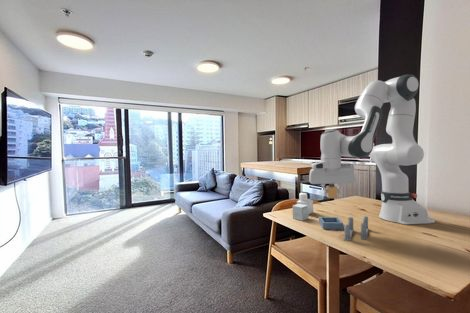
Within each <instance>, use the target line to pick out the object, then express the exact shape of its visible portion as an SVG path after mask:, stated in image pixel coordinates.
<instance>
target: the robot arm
mask: <svg viewBox="0 0 470 313" xmlns="http://www.w3.org/2000/svg"><path fill="white" fill-rule="evenodd" d="M419 87H420V82H419V79H418V77H416V76H415V75H414V74H403V75H401V76H398V77H397V76H396V77H393V78H390V79H387V80H386V81H382V80H378V79H377V80H372V81H370V82H369V83H368V84H367V85H366V86H365V88H364V89H363V90H362V92H361V94H360V95H359V97H358V98H357V100H356V102H355V105H354V111H355V113H356V115H357V116H358V117H360V118H362V119H364V122H363V125H362V128H361V129H360V130H361V131H360V132H359V133H357V134H355V135H351V136H350V135H349V136H347V135H345V134H343V133H341V132H340V131H339V130H338V129H331V130H326V131H324V132H322V133H321V135H320V142H319V143H320V152H321V154H320V160H319V161H317V162H313V163H311V165H310V167H311V169H310V170H309V176H308V182H309V183H310V184H311V185H320V186H321V188H322V189H323V193H324V194H327V193H328V189H326V185H330V184H333V185H335V184H337V191H338V194H340V193H341V189H342V187H343V184H354V183H355V182H356V178H355V177H356V176H355V166H354V165H353V164H351V163H342V158H341V157H347V158H348V157H350V158H351V157H352V158H353V157H354V158H357V159H358V158H360V159H363V158H367V157H368V156H369V157H370V160H371V161H372V162H374V163H375V165H376V166H377V168H378V170H379V172H380V176H381V192H380V198H381V208H380V212H379V214H378V217H379V218H380V219H382V220H385V221H387V222H392V223H398V224H401V225H424V224H436V222H435V219H433V218H432V217H430V216H429V213H428V211H427V208H426V207H425V206H423V205H421V204H420V203H419V202H417V201H415V200H414V199H417V198H418V194H417V193H414V192H413V193H412V192H409V177H408V175H407V174H406V173H404V172H403V171H402V170H401V168H400V166H412V165H418V164H420V163H421V162H422V161H423V159H424V156H425V152H424V149H423V148H422V146H421V145H420V144H418V143H417V141H416V140H415V137H414V126H415V125H414V124H415V120H416V119H415V118H416V110H417V108H416V107H417V104H416V99H415V97H416V95H417V93H418V91H419ZM385 103H390V110H389V112H388V116H387V121H386V122H387V123H386V127H385V131H386V133H387V134H388V135H389V136H390V137H391V139H392V142H391V143H382V144H377V145H374V142H375V138H376V135H377V133H378V132H377V131H378V129H379V126H380V124H381V121H382V118H383V110H382V107H383V105H384V104H385ZM413 198H414V199H413Z"/></svg>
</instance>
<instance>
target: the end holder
mask: <svg viewBox="0 0 470 313" xmlns="http://www.w3.org/2000/svg"><path fill="white" fill-rule="evenodd" d="M318 223H319V225H320V227H321V228H322V230H338V231H340V230H341V231H343V230H344V222H343V221H342V220H341V219H340V218H339V217H338V216H319V217H318Z"/></svg>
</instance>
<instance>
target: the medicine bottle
mask: <svg viewBox="0 0 470 313" xmlns="http://www.w3.org/2000/svg"><path fill="white" fill-rule="evenodd" d="M296 204H303V205H308V216H309V215H310V214H312V213H314V201H313V200H312V199H311V194H310V193H309V192H306V191H305V192H304V191H301V192H299V199H298V200H297V201H296Z"/></svg>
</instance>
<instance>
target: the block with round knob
mask: <svg viewBox="0 0 470 313" xmlns="http://www.w3.org/2000/svg"><path fill="white" fill-rule="evenodd" d="M337 188H338V186H336V185H335V184H328V185H325V189H328V193H326V198H328V199H338V198H339V193H338V191H337Z"/></svg>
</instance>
